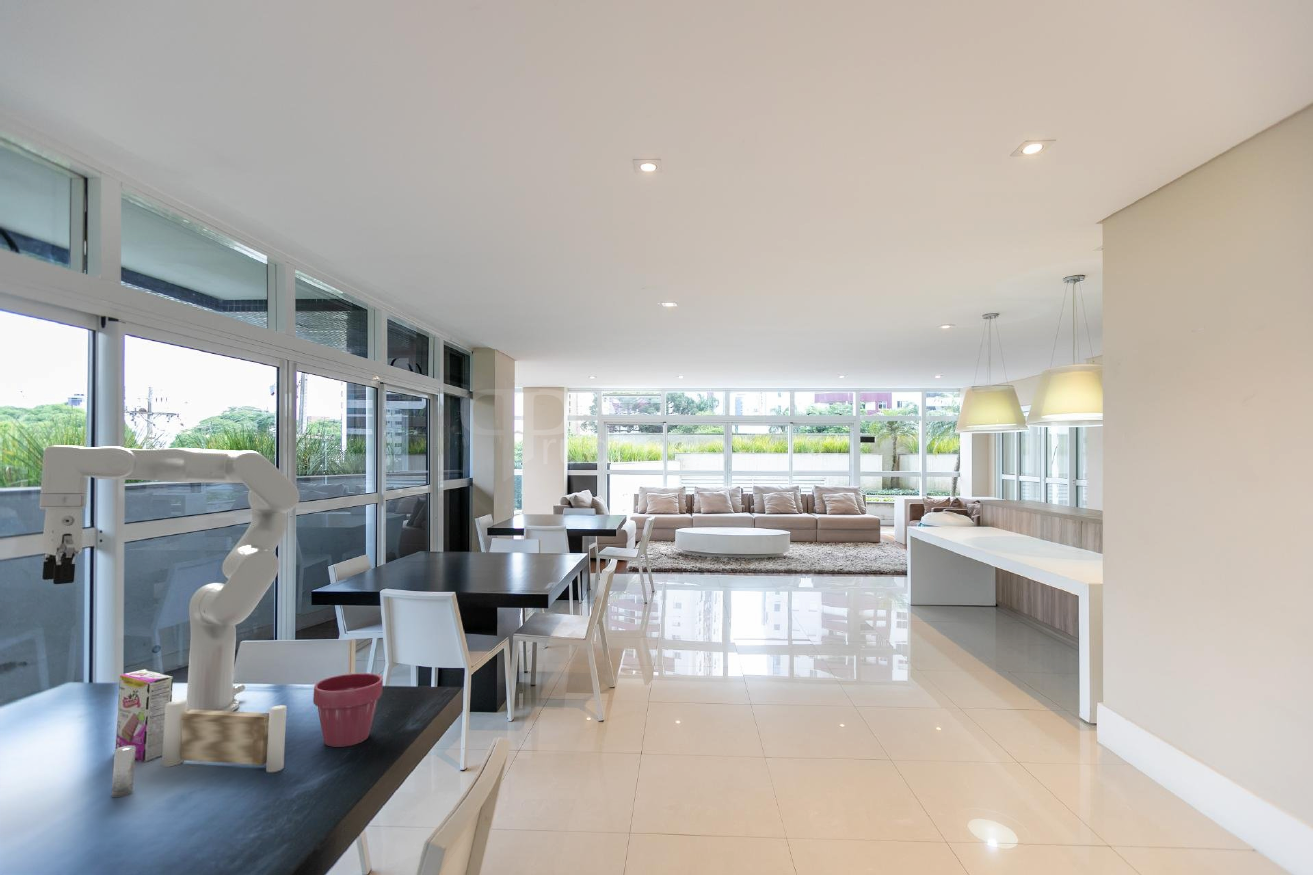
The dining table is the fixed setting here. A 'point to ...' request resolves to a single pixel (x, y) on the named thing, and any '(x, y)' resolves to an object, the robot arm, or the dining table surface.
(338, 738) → the plant pot
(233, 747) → the gate
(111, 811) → the dining table surface
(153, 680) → the candy bar box
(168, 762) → the gate posts
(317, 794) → the dining table surface
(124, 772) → the post
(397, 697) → the dining table surface
